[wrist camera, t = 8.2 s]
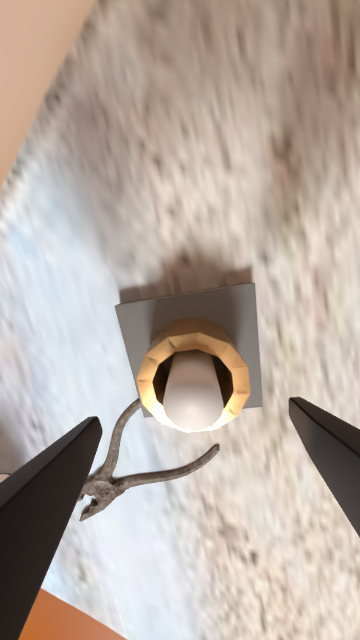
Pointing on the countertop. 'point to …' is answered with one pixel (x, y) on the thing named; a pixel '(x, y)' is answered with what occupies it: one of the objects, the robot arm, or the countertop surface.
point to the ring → (188, 338)
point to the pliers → (110, 489)
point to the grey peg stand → (195, 365)
